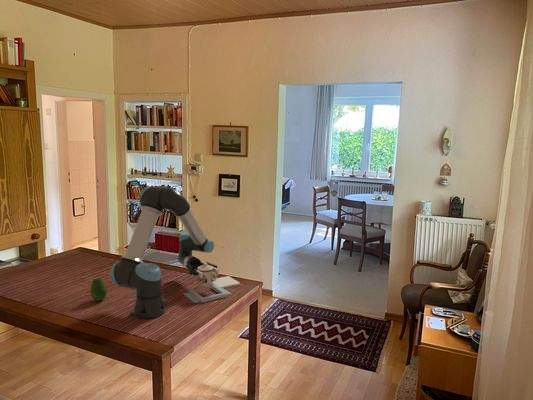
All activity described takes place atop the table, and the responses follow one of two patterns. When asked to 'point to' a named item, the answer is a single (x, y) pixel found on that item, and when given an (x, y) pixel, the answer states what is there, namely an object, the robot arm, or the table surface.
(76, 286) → the table surface
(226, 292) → the cradle
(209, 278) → the teacup with lid
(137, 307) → the robot arm
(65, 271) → the table surface
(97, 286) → the avocado
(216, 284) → the mat
